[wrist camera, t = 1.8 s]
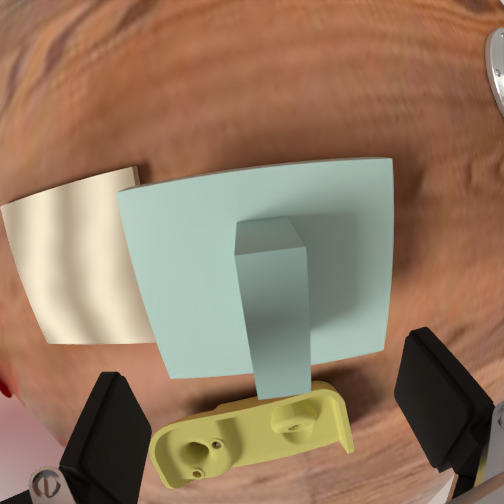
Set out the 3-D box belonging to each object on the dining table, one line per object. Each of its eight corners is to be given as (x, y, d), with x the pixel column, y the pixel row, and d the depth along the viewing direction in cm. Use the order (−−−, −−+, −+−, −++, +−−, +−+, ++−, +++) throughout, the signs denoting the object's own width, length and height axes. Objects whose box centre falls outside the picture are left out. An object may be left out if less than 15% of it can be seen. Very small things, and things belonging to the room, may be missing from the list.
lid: (377, 156, 15) (444, 167, 9) (373, 334, 19) (411, 397, 13) (128, 187, 15) (69, 213, 9) (175, 361, 19) (156, 432, 13)
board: (137, 165, 19) (132, 166, 19) (176, 334, 24) (174, 341, 23) (7, 204, 20) (0, 206, 19) (52, 338, 24) (48, 343, 23)
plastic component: (340, 381, 24) (356, 462, 23) (322, 362, 31) (339, 432, 30) (135, 425, 24) (171, 498, 23) (157, 400, 31) (184, 466, 30)
